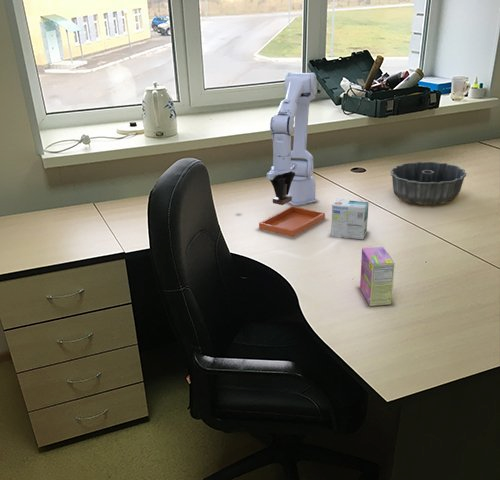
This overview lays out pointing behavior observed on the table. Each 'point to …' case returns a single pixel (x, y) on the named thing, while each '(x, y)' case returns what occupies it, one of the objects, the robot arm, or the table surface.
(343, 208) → the light bulb box
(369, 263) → the box
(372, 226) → the table surface
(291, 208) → the tray
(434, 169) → the bundt pan
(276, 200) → the stamp
